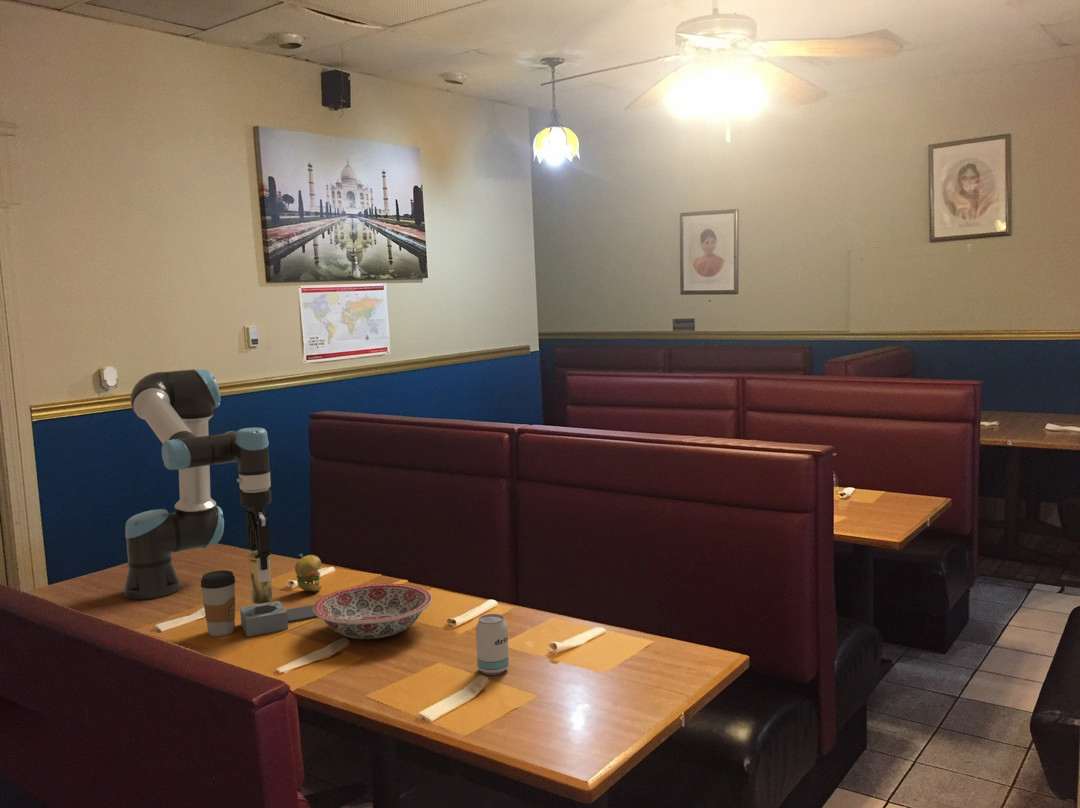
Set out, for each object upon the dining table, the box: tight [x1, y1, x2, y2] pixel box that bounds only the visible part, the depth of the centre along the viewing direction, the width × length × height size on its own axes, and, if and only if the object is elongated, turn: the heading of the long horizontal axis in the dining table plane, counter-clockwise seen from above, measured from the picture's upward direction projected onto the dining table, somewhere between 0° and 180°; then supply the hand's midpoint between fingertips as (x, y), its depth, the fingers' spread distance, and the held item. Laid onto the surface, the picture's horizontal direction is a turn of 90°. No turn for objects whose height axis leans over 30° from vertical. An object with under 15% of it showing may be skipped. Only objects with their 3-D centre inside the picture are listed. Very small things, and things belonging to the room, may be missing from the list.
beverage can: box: [475, 613, 510, 676], centre depth 196 cm, size 7×7×12 cm
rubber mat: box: [285, 604, 319, 624], centre depth 236 cm, size 9×9×1 cm
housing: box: [239, 600, 289, 637], centre depth 228 cm, size 10×10×4 cm
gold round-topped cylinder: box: [247, 552, 273, 605], centre depth 227 cm, size 6×6×12 cm
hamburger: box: [294, 553, 322, 592], centre depth 255 cm, size 8×7×12 cm
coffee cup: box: [200, 569, 237, 637], centre depth 225 cm, size 8×8×15 cm
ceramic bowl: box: [313, 583, 433, 640], centre depth 222 cm, size 29×29×8 cm
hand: (260, 578), depth 227 cm, fingers closed on gold round-topped cylinder, 6 cm apart
